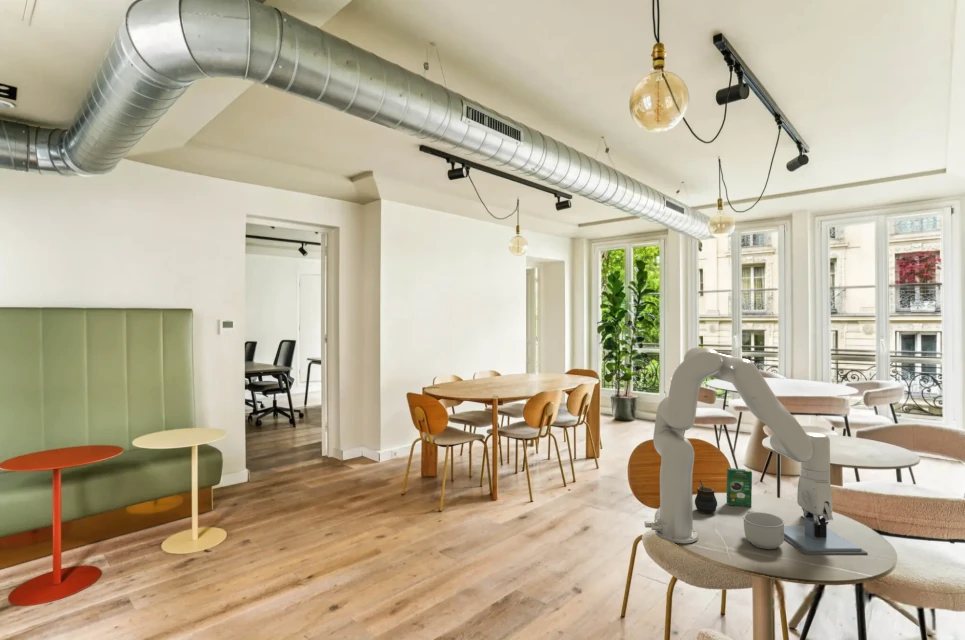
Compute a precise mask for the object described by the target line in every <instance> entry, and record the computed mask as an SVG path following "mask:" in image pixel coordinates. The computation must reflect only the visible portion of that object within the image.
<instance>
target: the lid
mask: <svg viewBox="0 0 965 640" xmlns="http://www.w3.org/2000/svg"><path fill="white" fill-rule="evenodd" d="M815 524H817V523H816V518H804V525H784V536H785V537H787V538H788V539H790V540H791V541H792V542H794V543H795V544H797V545H798V546H800V547H801V548H802V549H804V550H805V551H862V550H863V549H862V548H861V547H860V546H858V545H856V544H855V543H853V542H852V541H850V540H849V539H846V537H844V536H841V535H840V534H838V533H837V532H834V531H833V530H832V529H830V528H828V527H827V537H826V538H817V537H815Z"/></svg>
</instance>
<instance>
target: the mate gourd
mask: <svg viewBox="0 0 965 640" xmlns="http://www.w3.org/2000/svg"><path fill="white" fill-rule="evenodd" d="M699 483H700V485H701V486H700V487H697V489H696V490H697V491H696V492H697V494H696V496H695V499H694V505H695V508H696V509H697V510H698V512H699V513H701V514H706V515H711V514H713V513H715V511H717V507H718V501H717V498H716V496H715V489H714V488H712V487H708V486H704V484H703V482H702V480H701V479H700V480H699Z"/></svg>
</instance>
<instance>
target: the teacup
mask: <svg viewBox="0 0 965 640" xmlns="http://www.w3.org/2000/svg"><path fill="white" fill-rule="evenodd" d="M742 518H743V529H744V530H743V531H744V536H745V538H746V539H747V540H748V541H749V542H750V543H751V544H752V545H754V546H755V547H757V548H759V549H764V550H774V549H777V548H778V547H780V546H781V545H783V543H784V541H785V540H784V526H785V521H784V519H783V518H781V517H779V516H777V515H776V514H772V513H768V512H758V511H757V512H756V511H754V510H750V509H749V510H747V513H745V514H743V516H742Z"/></svg>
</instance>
